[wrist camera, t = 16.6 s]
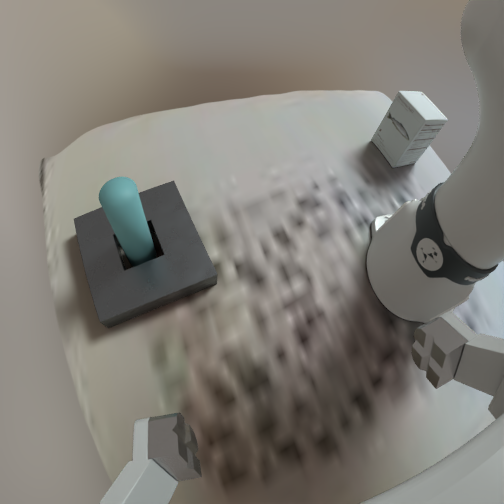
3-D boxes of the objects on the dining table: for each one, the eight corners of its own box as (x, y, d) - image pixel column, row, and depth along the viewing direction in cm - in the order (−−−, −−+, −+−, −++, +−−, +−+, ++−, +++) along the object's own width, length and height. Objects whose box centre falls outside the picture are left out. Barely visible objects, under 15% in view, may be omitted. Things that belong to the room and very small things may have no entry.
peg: (151, 238, 38) (131, 171, 26) (160, 262, 37) (141, 200, 25) (125, 248, 37) (95, 185, 25) (133, 273, 36) (103, 215, 24)
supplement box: (369, 139, 52) (397, 89, 41) (395, 136, 54) (422, 90, 43) (391, 169, 50) (426, 119, 38) (416, 164, 52) (449, 119, 40)
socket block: (175, 194, 41) (173, 180, 39) (216, 283, 37) (217, 274, 34) (81, 230, 37) (73, 218, 34) (108, 328, 32) (100, 322, 30)
